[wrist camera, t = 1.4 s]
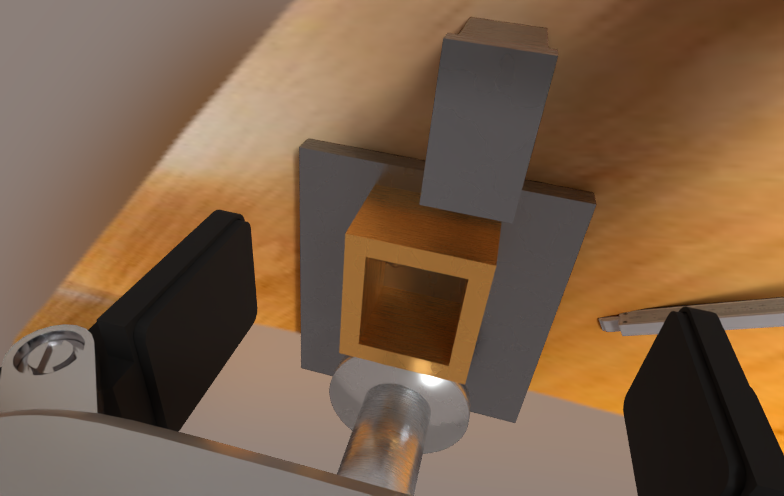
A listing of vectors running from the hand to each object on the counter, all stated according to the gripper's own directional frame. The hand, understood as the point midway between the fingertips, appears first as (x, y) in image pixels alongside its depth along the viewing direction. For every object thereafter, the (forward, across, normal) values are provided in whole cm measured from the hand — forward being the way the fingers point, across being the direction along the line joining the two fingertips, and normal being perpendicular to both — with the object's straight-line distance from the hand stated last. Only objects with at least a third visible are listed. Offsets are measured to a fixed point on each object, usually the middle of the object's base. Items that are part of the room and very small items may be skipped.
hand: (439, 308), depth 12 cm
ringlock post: (+20, +2, +16) cm, 26 cm away
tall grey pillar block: (+20, 0, 0) cm, 20 cm away
